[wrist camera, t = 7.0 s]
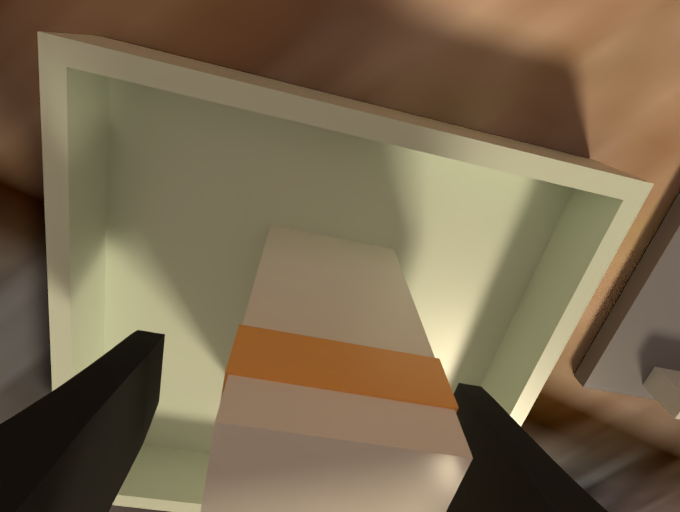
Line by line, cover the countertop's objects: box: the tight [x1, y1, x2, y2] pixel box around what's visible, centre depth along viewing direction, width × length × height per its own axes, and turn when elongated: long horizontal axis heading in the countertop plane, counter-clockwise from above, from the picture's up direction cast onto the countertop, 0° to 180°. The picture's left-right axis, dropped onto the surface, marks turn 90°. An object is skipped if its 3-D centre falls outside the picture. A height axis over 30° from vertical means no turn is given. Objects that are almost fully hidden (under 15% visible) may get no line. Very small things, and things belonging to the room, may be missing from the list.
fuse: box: [201, 224, 473, 512], centre depth 10 cm, size 4×6×7 cm, turn 167°
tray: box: [37, 31, 654, 512], centre depth 13 cm, size 13×13×2 cm
